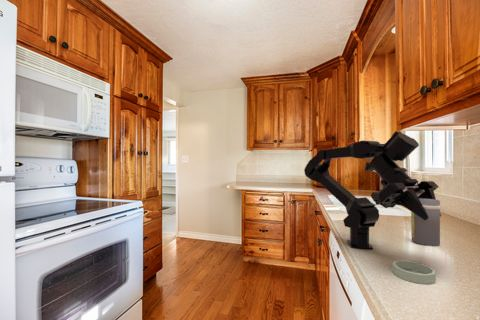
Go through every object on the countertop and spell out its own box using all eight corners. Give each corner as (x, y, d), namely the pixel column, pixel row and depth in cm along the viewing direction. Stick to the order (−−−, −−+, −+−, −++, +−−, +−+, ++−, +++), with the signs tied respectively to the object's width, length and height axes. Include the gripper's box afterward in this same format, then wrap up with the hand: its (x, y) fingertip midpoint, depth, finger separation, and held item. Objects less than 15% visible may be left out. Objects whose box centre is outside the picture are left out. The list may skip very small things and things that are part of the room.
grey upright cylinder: (408, 239, 64) (409, 198, 64) (427, 239, 64) (427, 198, 64) (426, 246, 59) (426, 201, 59) (446, 246, 59) (446, 201, 59)
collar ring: (388, 266, 63) (388, 259, 63) (423, 269, 61) (423, 261, 61) (401, 281, 55) (401, 272, 55) (443, 285, 53) (443, 276, 53)
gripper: (390, 188, 79) (428, 230, 69) (350, 190, 72) (386, 238, 61) (417, 165, 72) (463, 208, 62) (375, 164, 64) (421, 214, 54)
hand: (433, 218), depth 60 cm, fingers closed on grey upright cylinder, 5 cm apart
